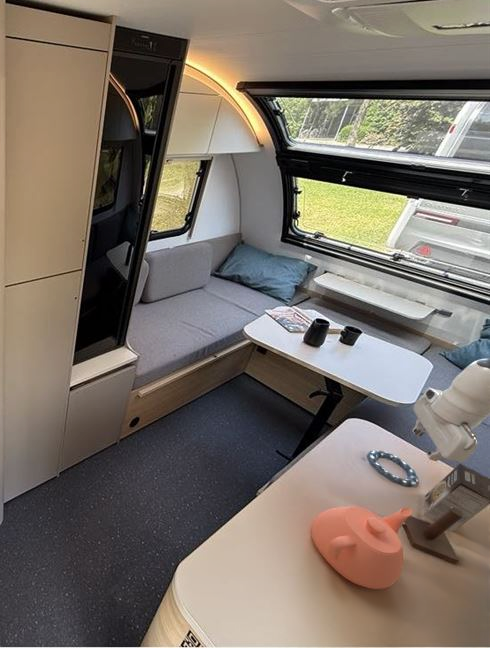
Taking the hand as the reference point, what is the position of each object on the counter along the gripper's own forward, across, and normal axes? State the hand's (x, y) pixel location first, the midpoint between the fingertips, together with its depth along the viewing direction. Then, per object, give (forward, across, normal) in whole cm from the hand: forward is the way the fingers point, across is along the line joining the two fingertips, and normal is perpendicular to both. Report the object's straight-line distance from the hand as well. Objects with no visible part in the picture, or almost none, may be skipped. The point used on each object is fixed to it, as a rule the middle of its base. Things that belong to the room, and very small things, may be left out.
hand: (423, 445), depth 101 cm
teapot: (+16, -32, +18) cm, 40 cm away
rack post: (+16, -18, -2) cm, 24 cm away
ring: (+15, +4, -1) cm, 16 cm away
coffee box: (+16, -8, -8) cm, 20 cm away
